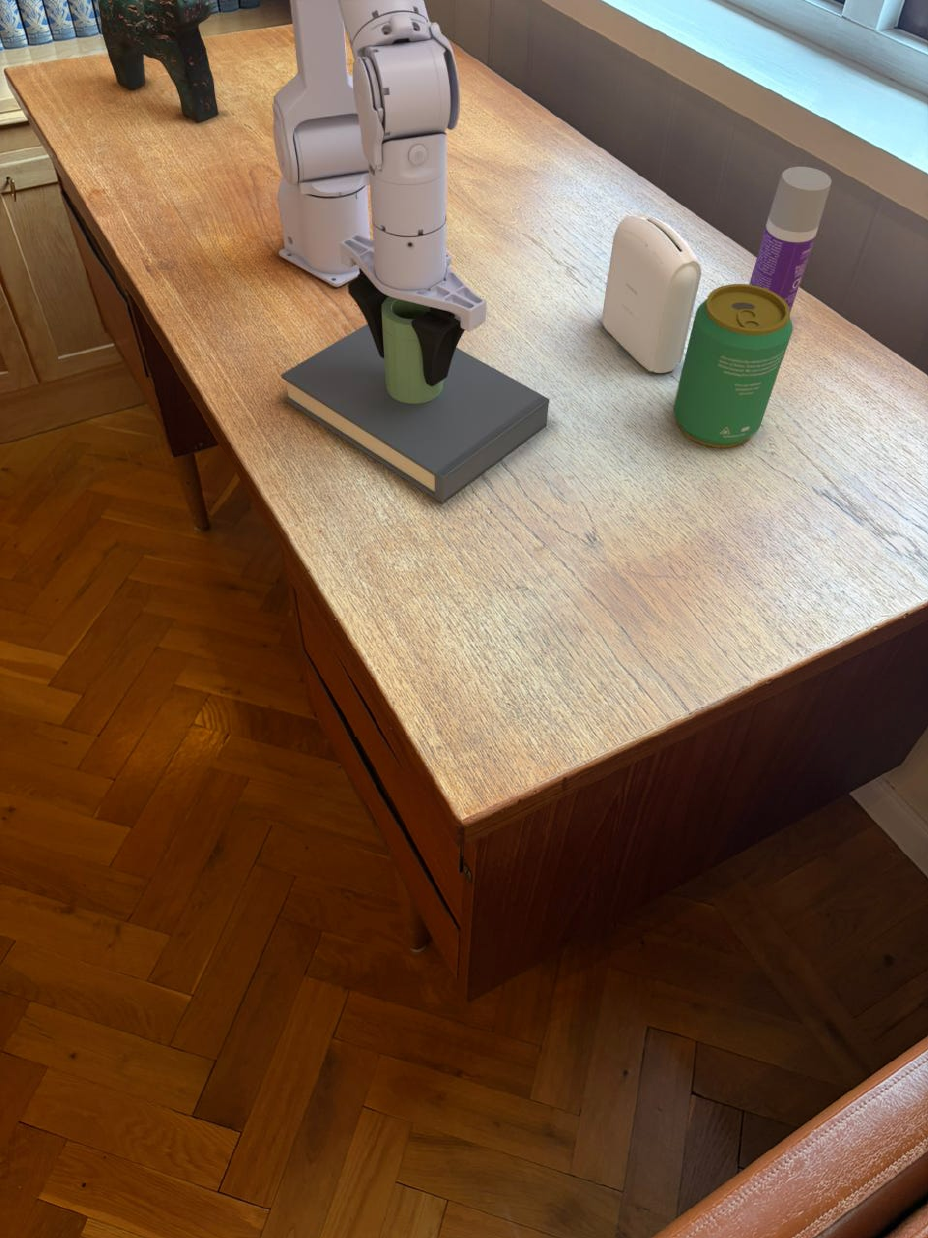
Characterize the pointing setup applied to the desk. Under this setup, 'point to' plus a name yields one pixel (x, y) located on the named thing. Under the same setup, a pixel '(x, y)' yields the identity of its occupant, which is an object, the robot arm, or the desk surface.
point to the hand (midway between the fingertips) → (413, 366)
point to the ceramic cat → (161, 47)
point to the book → (418, 414)
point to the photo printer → (650, 291)
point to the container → (791, 231)
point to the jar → (404, 353)
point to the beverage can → (731, 364)
